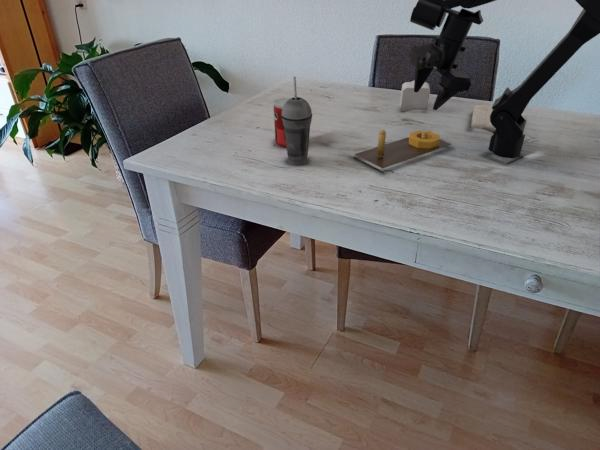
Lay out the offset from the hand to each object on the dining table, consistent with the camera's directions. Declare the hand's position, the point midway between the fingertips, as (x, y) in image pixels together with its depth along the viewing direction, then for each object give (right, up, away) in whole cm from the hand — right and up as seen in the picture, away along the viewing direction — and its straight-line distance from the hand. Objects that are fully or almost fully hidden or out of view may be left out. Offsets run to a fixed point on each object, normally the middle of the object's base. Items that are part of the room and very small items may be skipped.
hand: (424, 100), depth 113 cm
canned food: (-34, -9, +8) cm, 36 cm away
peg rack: (-5, -13, +1) cm, 14 cm away
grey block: (+4, +6, +31) cm, 32 cm away
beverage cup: (-32, -16, -2) cm, 35 cm away
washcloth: (+24, -2, +18) cm, 30 cm away
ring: (+1, -10, +3) cm, 11 cm away
